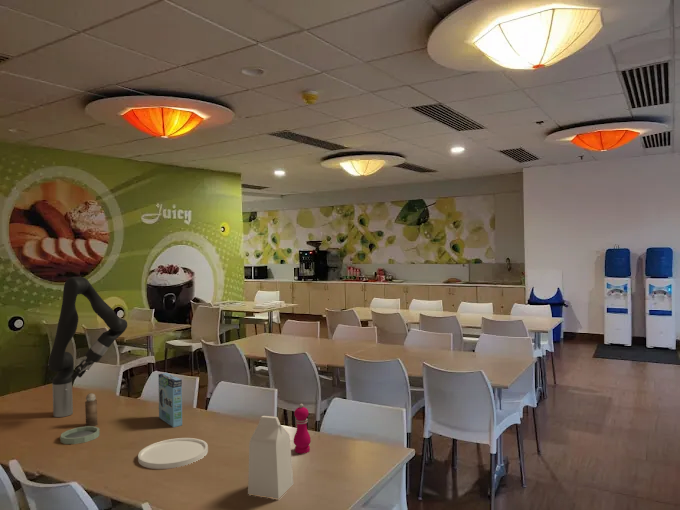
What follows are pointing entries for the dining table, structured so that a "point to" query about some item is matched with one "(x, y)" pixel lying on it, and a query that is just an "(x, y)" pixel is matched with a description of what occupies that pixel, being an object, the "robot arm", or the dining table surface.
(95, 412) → the wooden peg figure
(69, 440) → the round tray
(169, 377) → the light blue cardboard box
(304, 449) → the pepper mill
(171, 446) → the plate
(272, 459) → the milk
